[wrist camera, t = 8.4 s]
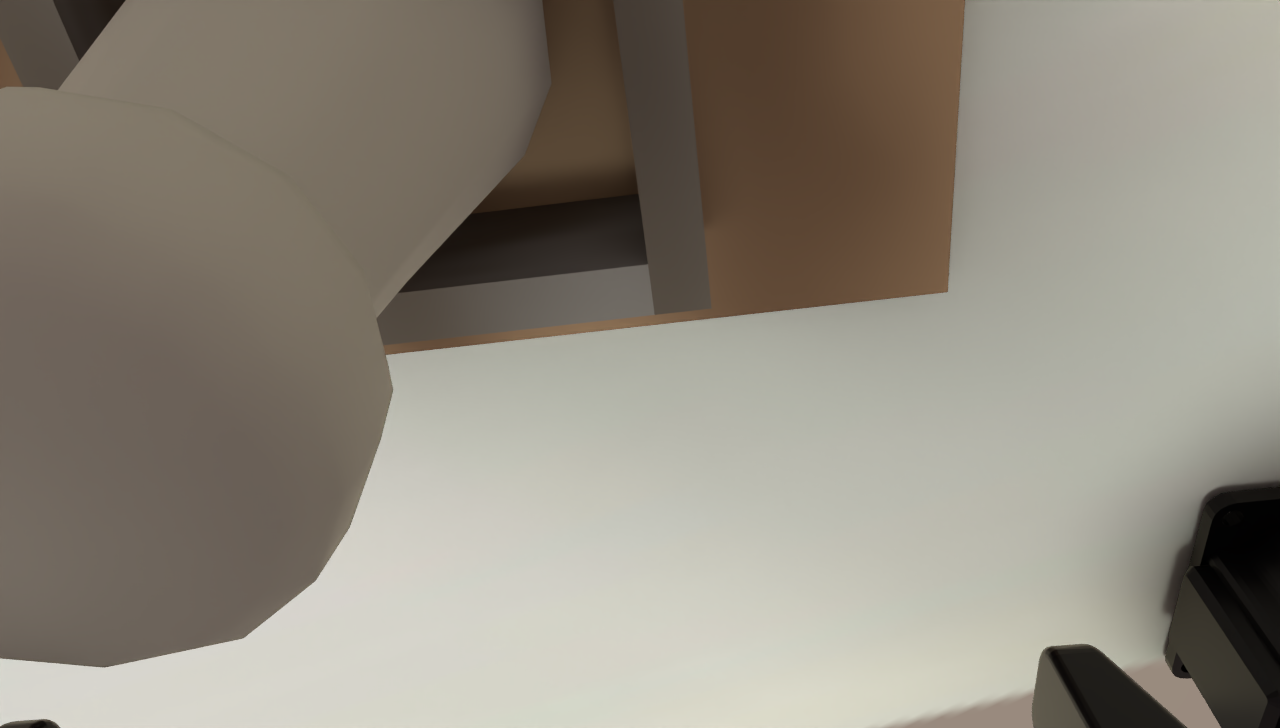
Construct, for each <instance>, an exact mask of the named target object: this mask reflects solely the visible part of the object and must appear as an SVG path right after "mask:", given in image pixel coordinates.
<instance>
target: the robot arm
mask: <svg viewBox="0 0 1280 728" xmlns="http://www.w3.org/2000/svg"><path fill="white" fill-rule="evenodd" d="M1229 512H1230V513H1229ZM1227 513H1228V514H1227ZM1168 637H1169V640H1170V641H1169V644H1168V648H1167V652H1166V656H1165V661H1166V663H1167V664H1168V666H1169V668H1170V670H1171V671H1172V673H1173V674H1174V675H1175V676H1176V677H1179V678H1192V679H1193V681H1194V682H1195V684H1196V686H1197V687H1198V689H1199V691H1200V692H1201V694H1202V696H1203V697H1204V699H1205V700H1206V702H1207V704H1208V706H1209V708H1210V709H1211V711H1212V713H1213V714H1214V716H1215V718H1216V719H1217V721H1218V723H1219V724H1220V726H1221V728H1280V487H1275V488H1265V489H1255V490H1245V491H1235V492H1227V493H1223V494H1220V495H1218V496H1216V497H1214V498H1212V499H1211V500H1210V501H1209V502H1208V503H1207V504H1206V506H1205V508H1204V511H1203V515H1202V519H1201V522H1200V526H1199V530H1198V534H1197V538H1196V542H1195V545H1194V549H1193V553H1192V557H1191V561H1190V564H1189V568H1188V570H1187V572H1186V573H1185V575H1184V577H1183V581H1182V585H1181V589H1180V593H1179V597H1178V600H1177V604H1176V608H1175V612H1174V616H1173V620H1172V623H1171V627H1170V631H1169V635H1168ZM1032 720H1033V727H1034V728H1187V727H1186V726H1185V725H1184V724H1182V723H1181V722H1180V721H1179V720H1178V719H1177V718H1176V717H1174V716H1173V715H1172V714H1171V713H1170V712H1169V711H1168V710H1167V709H1166V708H1164V707H1163V706H1162V705H1161V704H1160V703H1159V702H1158V701H1157V700H1155V699H1154V698H1153V697H1152V696H1151V695H1150V694H1148V692H1146V691H1145V690H1144V689H1143V688H1142V687H1141V686H1140V685H1138V684H1137V683H1136V682H1135V681H1134V680H1133V679H1132V678H1130V677H1129V676H1128V675H1127V674H1126V673H1125V672H1124V671H1123V670H1122V669H1120V668H1119V667H1118V666H1117V665H1116V664H1115V663H1114V662H1113V661H1111V660H1110V659H1109V658H1108V657H1107V656H1106V655H1105V654H1104V653H1102V652H1101V651H1100V650H1099V649H1097V648H1095V647H1093V646H1091V645H1088V644H1075V645H1062V646H1050V647H1047V648H1045V649H1044V650H1043V652H1042V653H1041V656H1040V659H1039V665H1038V671H1037V678H1036V684H1035V690H1034V697H1033V703H1032ZM0 728H60V727H59V726H58V725H57V724H56V723H55V722H53V721H51V720H47V719H40V720H27V721H15V722H10V723H7V724H4V725H2V726H0Z"/></svg>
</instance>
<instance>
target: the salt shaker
mask: <svg viewBox="0 0 1280 728" xmlns="http://www.w3.org/2000/svg"><path fill="white" fill-rule="evenodd" d="M551 83H552V82H551V74H550V65H549V56H548V47H547V38H546V29H545V20H544V12H543V3H542V0H126V1H125V2H124V3H123V5H122V6H121V7H120V8H119V10H118V11H117V12H116V14H115V15H114V16H113V18H112V19H111V20H110V22H109V23H108V24H107V26H106V27H105V28H104V30H103V31H102V32H101V34H100V35H99V36H98V38H97V39H96V40H95V41H94V43H93V44H92V45H91V47H90V48H89V49H88V51H87V52H86V53H85V55H84V56H83V57H82V59H81V60H80V61H79V63H78V64H77V65H76V67H75V68H74V69H73V71H72V72H71V73H70V75H69V76H68V77H67V78H66V80H65V81H64V82H63V84H62V85H61V86H60V88H59V89H58V90H53V89H47V88H41V87H5V88H2V89H0V658H3V659H14V660H26V661H37V662H48V663H60V664H71V665H82V666H94V667H109V666H114V665H119V664H124V663H129V662H133V661H138V660H143V659H148V658H152V657H157V656H162V655H167V654H171V653H176V652H181V651H186V650H190V649H195V648H200V647H204V646H209V645H214V644H219V643H223V642H228V641H233V640H238V639H242V638H244V637H246V636H247V635H248V634H249V633H251V632H252V631H253V630H254V629H256V628H257V627H258V626H259V625H261V624H262V623H263V622H264V621H266V620H267V619H268V618H269V617H271V616H272V615H273V614H274V613H276V612H277V611H278V610H279V609H281V608H282V607H283V606H285V605H286V604H287V603H288V602H290V601H291V600H292V599H293V598H295V597H296V596H297V595H298V594H300V593H301V592H302V591H303V590H305V589H306V588H307V587H308V586H310V585H311V584H312V583H313V582H315V581H316V579H317V578H318V576H319V575H320V573H321V571H322V570H323V568H324V567H325V565H326V564H327V562H328V560H329V559H330V557H331V556H332V554H333V553H334V551H335V549H336V548H337V546H338V545H339V543H340V542H341V540H342V539H343V537H344V535H345V534H346V532H347V531H348V529H349V528H350V525H351V522H352V519H353V516H354V514H355V511H356V508H357V505H358V502H359V499H360V497H361V494H362V491H363V488H364V485H365V482H366V480H367V477H368V474H369V471H370V468H371V465H372V463H373V460H374V457H375V454H376V451H377V448H378V446H379V443H380V440H381V436H382V432H383V428H384V424H385V420H386V416H387V412H388V408H389V404H390V401H391V397H392V393H393V386H392V382H391V377H390V372H389V367H388V363H387V359H386V355H385V351H384V347H383V343H382V339H381V335H380V331H379V327H378V323H377V319H376V318H377V317H378V316H379V315H380V313H381V312H382V311H383V310H384V309H385V307H386V306H387V305H388V304H389V303H390V302H391V300H392V299H393V298H394V297H395V296H396V294H397V293H398V292H399V291H400V290H401V288H402V287H403V286H404V285H405V284H406V282H407V281H408V280H409V279H410V278H411V277H412V276H413V275H414V274H415V273H416V272H417V271H418V269H419V268H420V267H421V266H422V265H423V264H424V263H425V262H426V261H427V260H428V259H429V258H430V257H431V255H432V254H433V253H434V252H435V251H436V250H437V249H438V248H439V247H440V246H441V245H442V244H443V243H444V241H445V240H446V239H447V238H448V237H449V236H450V235H451V234H452V233H453V232H454V231H455V230H456V229H457V228H458V226H459V225H460V224H461V223H462V222H463V221H464V220H465V219H466V218H467V217H468V216H469V215H470V214H471V212H472V211H473V210H474V209H475V208H476V207H477V206H478V205H479V204H480V203H481V202H482V201H483V200H484V198H485V197H486V196H487V195H488V194H489V193H490V192H491V191H492V190H493V189H494V188H495V187H496V186H497V184H498V183H499V182H500V181H501V180H502V179H503V178H504V177H505V176H506V175H507V174H508V173H509V172H510V170H511V169H512V168H513V167H514V166H515V165H516V164H517V163H518V162H519V161H520V160H521V159H522V158H523V156H524V155H525V153H526V150H527V147H528V145H529V142H530V139H531V137H532V134H533V131H534V129H535V126H536V123H537V121H538V118H539V115H540V113H541V110H542V107H543V105H544V102H545V99H546V97H547V94H548V91H549V89H550V86H551Z"/></svg>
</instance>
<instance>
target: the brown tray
mask: <svg viewBox="0 0 1280 728" xmlns="http://www.w3.org/2000/svg"><path fill="white" fill-rule="evenodd" d="M125 1H126V0H0V89H2V88H5V87H41V88H47V89H53V90H58V89H59V88H60V86H61V85H62V84H63V82H64V81H65V80H66V78H67V77H68V76H69V75H70V73H71V72H72V71H73V69H74V68H75V67H76V65H77V64H78V63H79V61H80V60H81V59H82V57H83V56H84V55H85V53H86V52H87V51H88V49H89V48H90V47H91V45H92V44H93V43H94V41H95V40H96V39H97V38H98V36H99V35H100V34H101V32H102V31H103V30H104V28H105V27H106V26H107V24H108V23H109V22H110V20H111V19H112V18H113V16H114V15H115V14H116V12H117V11H118V10H119V8H120V7H121V6H122V5H123V3H124V2H125ZM542 3H543V12H544V20H545V29H546V38H547V47H548V56H549V65H550V74H551V82H552V83H551V86H550V89H549V91H548V94H547V97H546V99H545V102H544V105H543V107H542V110H541V113H540V115H539V118H538V121H537V123H536V126H535V129H534V131H533V134H532V137H531V139H530V142H529V145H528V147H527V150H526V153H525V155H524V156H523V158H522V159H521V160H520V161H519V162H518V163H517V164H516V165H515V166H514V167H513V168H512V169H511V170H510V172H509V173H508V174H507V175H506V176H505V177H504V178H503V179H502V180H501V181H500V182H499V183H498V184H497V186H496V187H495V188H494V189H493V190H492V191H491V192H490V193H489V194H488V195H487V196H486V197H485V198H484V200H483V201H482V202H481V203H480V204H479V205H478V206H477V207H476V208H475V209H474V210H473V211H472V212H471V214H470V215H469V216H468V217H467V218H466V219H465V220H464V221H463V222H462V223H461V224H460V225H459V226H458V228H457V229H456V230H455V231H454V232H453V233H452V234H451V235H450V236H449V237H448V238H447V239H446V240H445V241H444V243H443V244H442V245H441V246H440V247H439V248H438V249H437V250H436V251H435V252H434V253H433V254H432V255H431V257H430V258H429V259H428V260H427V261H426V262H425V263H424V264H423V265H422V266H421V267H420V268H419V269H418V271H417V272H416V273H415V274H414V275H413V276H412V277H411V278H410V279H409V280H408V281H407V282H406V284H405V285H404V286H403V287H402V288H401V290H400V291H399V292H398V293H397V294H396V296H395V297H394V298H393V299H392V300H391V302H390V303H389V304H388V305H387V306H386V307H385V309H384V310H383V311H382V312H381V313H380V315H379V316H378V317H377V318H376V319H377V323H378V327H379V331H380V335H381V339H382V343H383V347H384V351H385V355H388V354H397V353H406V352H415V351H424V350H433V349H442V348H451V347H460V346H469V345H477V344H486V343H495V342H504V341H513V340H522V339H531V338H540V337H549V336H558V335H567V334H576V333H585V332H594V331H603V330H612V329H621V328H630V327H639V326H648V325H657V324H666V323H674V322H683V321H692V320H701V319H710V318H719V317H728V316H737V315H746V314H755V313H764V312H773V311H782V310H791V309H800V308H809V307H818V306H827V305H836V304H845V303H854V302H862V301H871V300H880V299H889V298H898V297H907V296H916V295H925V294H934V293H943V292H948V276H949V259H950V242H951V226H952V209H953V192H954V175H955V158H956V142H957V125H958V108H959V91H960V74H961V57H962V41H963V24H964V7H965V0H542Z"/></svg>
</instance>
